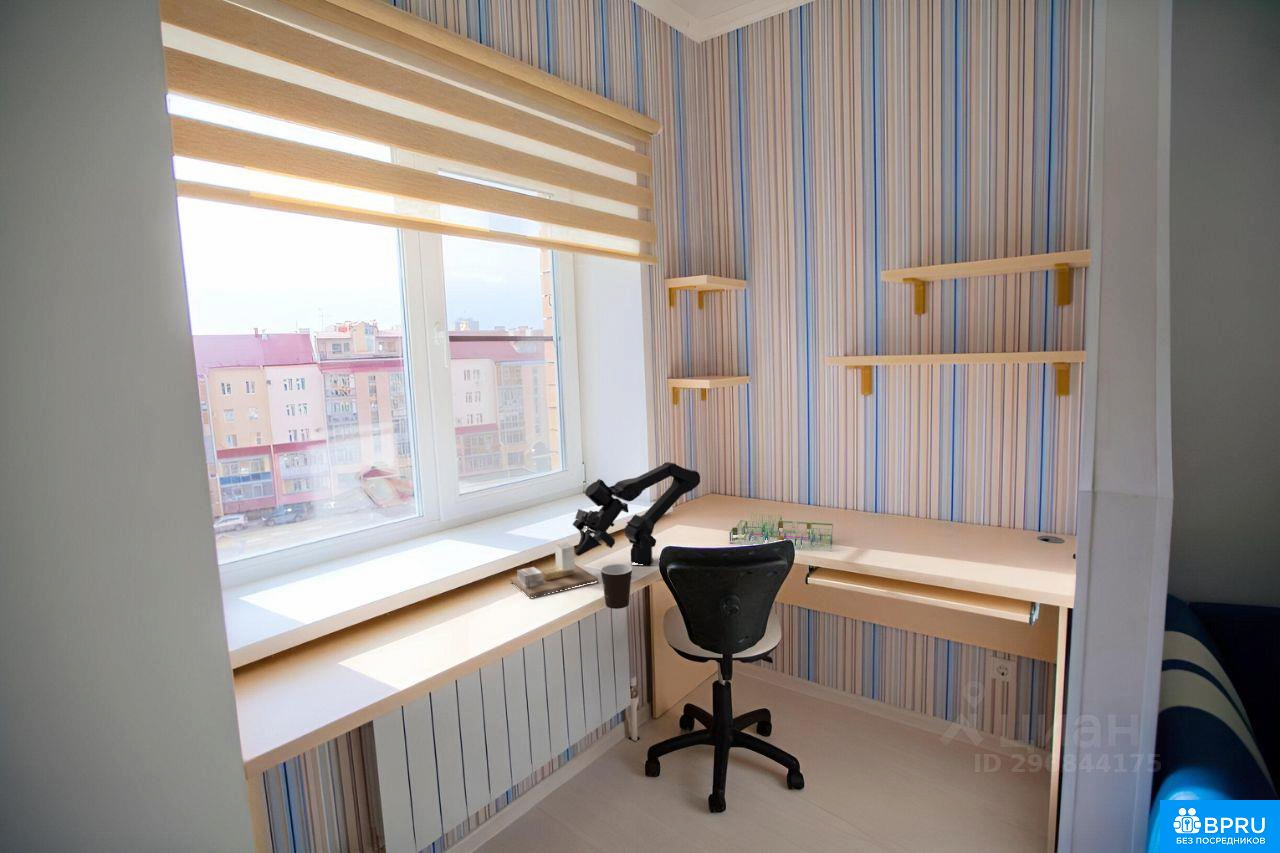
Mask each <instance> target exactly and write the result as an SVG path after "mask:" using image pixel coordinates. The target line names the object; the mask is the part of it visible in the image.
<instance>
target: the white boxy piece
mask: <svg viewBox="0 0 1280 853" xmlns="http://www.w3.org/2000/svg"><path fill="white" fill-rule="evenodd" d="M554 548H555V551H554V552H555V554H554V555H555V569H554V568H549V569H550V570H549V569H545V570H546V571H544V570H541V571H542V578H544V579H545V580H551V579H555V578H560V577H564V576H569V575H574V573H573V569H575V565H576V564H575V546H574V545H572V544H570V543H568V542H566V543H565V542H564V543H560V544H555V545H554Z"/></svg>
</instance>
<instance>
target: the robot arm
mask: <svg viewBox="0 0 1280 853" xmlns="http://www.w3.org/2000/svg"><path fill="white" fill-rule="evenodd" d="M670 477H672V481H671V485H670V487H668V488H667V489H666V490H665V492H663V494H662V495H661V496H660V497H659V498H658V499H657V500H656V501H655V502H654V503H653V504H652V505H651V507H649V509H648V510H647V511H646V512H645V513H644V514H642V515H637V514H634V515H633V516H632V518H631V519H630V520H628V521H627V522H626V525H625V526H624V527H625V528H624V535H625V537H626V538H627V539H628V541H629V544H632V547H631V549H630V562H631V563H632V562H635V563H638V564H643V565H651V564H652V565H653V562H654V558H653V548H654V547H656V544H657V538H656V539H655V537H654V536H652V534H653V532H654V529H655V525H656V523H657V522H658V521H659V520H660V519H661V518H662V517H663V516H664V515H665V514H666V513H667V512H668V510H670V509H671V507H672V506H673V505H674V504H675V503H676V502H677V501H678V500H679V499H680V498H681V497H682V496H683V495H685V494H687V493H689V492H692V491H693V490H695V489H696V488H697V487H698V486H699V485H700V483H701V475H700V473H699V472H698V471H696V470H694V469H690V468H689V469H688V468H686V467H685V468H684V467H682V466H680V465H677V463H674V462H670V461H667V462H666V461H665V462H664V463H663V464H661V465H659V466H657V467H655V468H653V469H651V470H650V471H649V470H648V471H647V472H645V473H643V474H641V475H639V476H638V477H634V478H633V477H632V478H627V479H624V480H618V482H616V483H615V484H613V485H610V486H608V485H607V484H606V483H605V481H604V480H602V479H599V478H598V479H597V480H596V481H593V482H592V483H591V484H590V485H588V486H587V488H586V489H585V491H584V495H585V496H586V497H587V498H589V500H590V501H591V502H592V503H594V504H595V505H596V506H597V507H601V508H600V509H599V510H594V511H592V510H589V511H585V510H583V509H577V513H576V515H575V518H574V519H575V520H574V521H573V522H572V525H573V527H575V529H577V530H578V531H579V533H580V540H579V542H578V545H577V548H576V550H575V552H574V555H576V556H578V557H580V556H582V555H584V554H586V553H587V552H588V551H591V550H593V549H595V548H597V547H601V546H602V542H604V544H605V546H607V547H608V548H610V549H612V548H613V547H614V545H615V544H616V540H615V538H614V537H613V536H612V535H611V534H610V533H608V532H607V531H608V530H609V528H610V527H612V528H614V526H615V525H616V524H615V523H614V522H615V521H616V519H617V517H618V516H619V515H620V514H621V513H622V512H624V513H629V507H628V506H629V505H628V503H626V502H632V501H634V500H635V499H637V498H638V497H640V496H641V494H642V493H643V492H644V491H645V490H646V489H648V488H650V487H651V486H654V485H656V484H658V483H660V482H662V481H664V480H665V479H668V478H670ZM614 497H615V498H614ZM621 500H623V501H626V502H622V501H621ZM652 565H651V566H652Z"/></svg>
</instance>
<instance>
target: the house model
mask: <svg viewBox="0 0 1280 853" xmlns="http://www.w3.org/2000/svg"><path fill="white" fill-rule="evenodd" d="M755 515H756V516H755ZM750 516H751V520H745V522H744V524H743V526H741V532H740V535H741V536H742V535H744V534H746V535H745V536H747V535H748V542H749V541H750V539H751V537H752V536H753V537H755V541H757V542H758V536H759V538H761V537H763V536H765V540H766V538H767V540H768V541H769V540H770V537H772V538H776V537H777V540H784V539H786V540H790V539H791V540H794V547H795V546H796V541H797V542H798V540H799V539H800V544H801V545H802V540H803V541H808V540H811V541H810V545H812V542H813V543H814V541H815V545H816V546H817V545H818V546H819V542H820V541H821V542H822V541H824V540H825V541H826V537H828V536H829V537H830V538H829V539H827V541H830V542H829V544H830V546H831V542H832V543H833V526H834V524H833V523H824V522H823V523H820V522H803V521H792V520H791V521H788V520H783V519H782V518H783V516H782V515H779V514H778V515H776V514H772V516H771V521H770V514H767V521H766V519H763V518H764V517H765V514H761V513H755V514H753V513H751V515H750ZM757 516H759V518H757ZM760 516H761V517H760ZM752 517H753V518H754V519H755V520H753V518H752ZM773 517H774V518H773ZM776 517H778V518H779V519H778V520H777V518H776ZM774 519H775V520H774ZM759 521H760V522H761V526H760V525H759ZM751 522H752V524H751ZM775 522H776V523H777V529H775V528H774V526H775ZM741 523H742V520H740V521H739V522H738V524H736V526H735V527H733V526H732V528H731V529H730V531H729V542H730V541H731V540H732V541H733V542H734V539H733V535H738V536H739V530H740V524H741ZM754 523H757V524H755V526H754ZM772 523H773V524H772ZM785 523H786V524H792V525H791V526H792V528H793V529H796V530H797V529H798V526H799V525H798V524H804V525H806V530H807V529H809V532H807V531H804V532H805V534H807V533H808V534H807V535H808V536H804V533H801V535H798V533H797V531H795V530H793V531H792V530H784V532H783V533H784V534H783V535H781V532H780V531H779V528H783V529H784V524H785ZM748 524H749V525H748ZM770 524H771V525H770ZM794 524H796V527H795V526H794ZM812 525H821V526H832V527H831V529H829V528H824V530H825V531H826V530H827V531H828V532H827V533H826V532H824V533H823V532H821V531H820V530H821V528H815V527H814V528H813V527H812ZM752 528H753V529H752ZM758 528H759V531H760V532H759V533H758V530H757V529H758ZM746 529H747V533H746ZM751 529H752V530H751ZM810 529H811V534H810ZM749 530H750V531H749ZM768 530H769V533H770V534H771V535H769V534H768ZM773 530H774V531H773ZM798 530H799V529H798ZM814 530H818V533H816V532H814ZM786 531H787V532H786ZM830 531H831V532H830ZM763 532H764V534H763ZM778 532H779V534H778ZM792 532H793V533H794V534H795V536H794V535H792ZM829 532H830V533H829ZM773 533H774V534H773ZM787 534H789V535H787ZM760 535H762V536H760ZM768 536H769V537H768ZM816 536H817V537H816ZM819 536H820V538H819ZM822 536H823V537H822ZM753 537H752V538H753ZM763 538H764V537H763ZM753 539H754V538H753ZM737 540H739V541H743V540H744V541H746V538H743V540H742V538H740V537H738V539H737ZM770 541H771V540H770ZM801 545H800V546H801ZM821 546H822V547H825V546H827V547H830V546H829V545H828V544H827V545H824V543H821Z"/></svg>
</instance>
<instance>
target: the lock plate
mask: <svg viewBox="0 0 1280 853" xmlns="http://www.w3.org/2000/svg"><path fill="white" fill-rule="evenodd" d="M555 568H556V567H555ZM555 568H553V569H555ZM550 569H551V568H549V569H548V570H550ZM546 570H547V569H545V570H541V571H540V570H539V569H538V568H536V567H534V566H532V567H531V566H530V567H526V568H521V569H517V570H516V573H517V576H511V577H509V582H510V581H511V582H512V583H513V584H514V585H515V586H517V587H518V588H519V589H520V590H521V591H523V592H524V593H525V594H526V595H527V596H528V597H530V598H531V597H535V596H540V597H542V596H541V595H544V594H548V593H552V592H556V591H560V590H565V589H568V588H572V587H575V586H579V585H583V584H587V583H591V582H595V581H598V582H599V577H596V576H595V575H594V574H592V573H590V572H588V571H587V570H585V569H583V568H582V567H580V566H579V565H576V564H575V569H573V573H574V575H569V576H564V577H560V578H555V579H551V580H545V579H544V578H542V571H546ZM515 586H514V587H515ZM520 590H519V591H520ZM521 591H520V592H521ZM525 594H524V595H525ZM526 595H525V596H526ZM527 596H526V597H527ZM544 596H545V595H544ZM528 597H527V598H528ZM530 598H529V599H530ZM531 599H532V598H531Z"/></svg>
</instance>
